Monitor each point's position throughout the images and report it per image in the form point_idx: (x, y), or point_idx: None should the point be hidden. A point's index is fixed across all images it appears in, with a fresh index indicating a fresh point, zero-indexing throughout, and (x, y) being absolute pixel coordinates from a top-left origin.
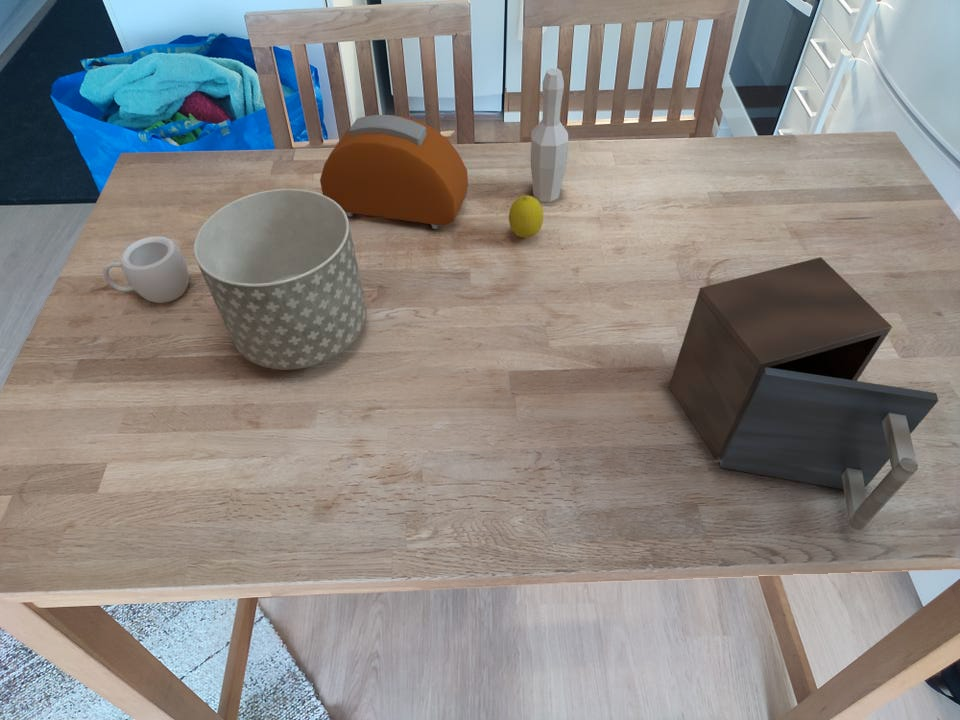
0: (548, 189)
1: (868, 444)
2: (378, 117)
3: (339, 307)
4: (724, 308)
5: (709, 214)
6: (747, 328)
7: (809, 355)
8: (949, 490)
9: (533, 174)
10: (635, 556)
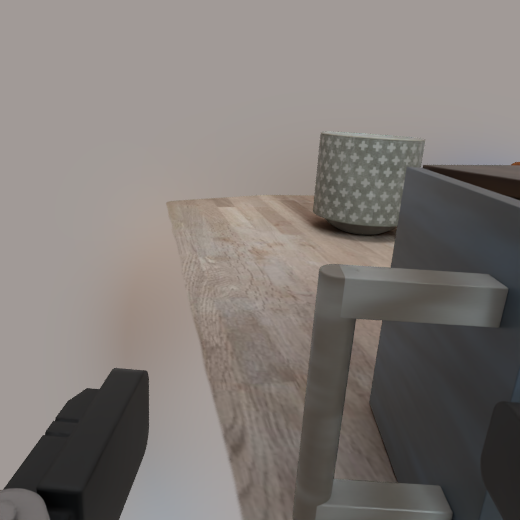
0: None
1: (464, 402)
2: None
3: (356, 182)
4: (508, 166)
5: None
6: (487, 167)
7: (507, 194)
8: None
9: None
10: (207, 337)
